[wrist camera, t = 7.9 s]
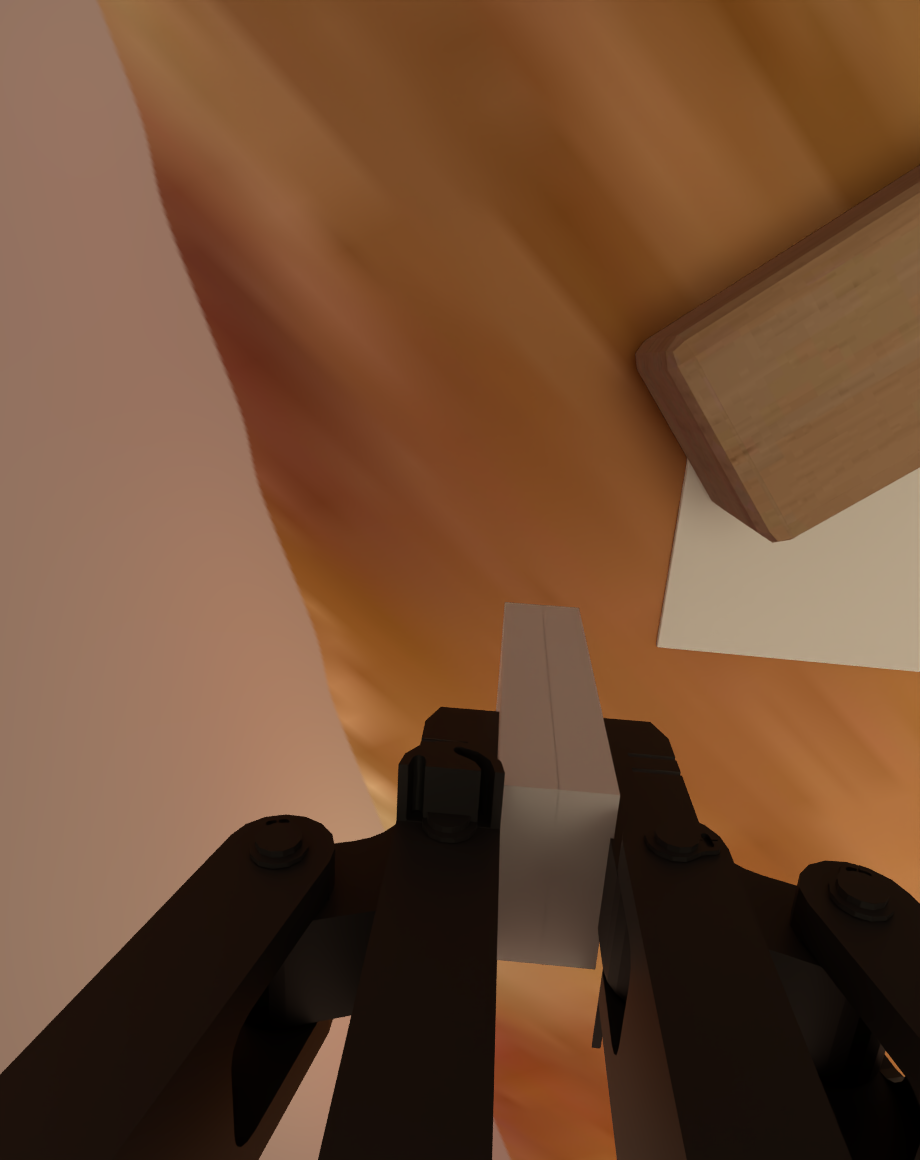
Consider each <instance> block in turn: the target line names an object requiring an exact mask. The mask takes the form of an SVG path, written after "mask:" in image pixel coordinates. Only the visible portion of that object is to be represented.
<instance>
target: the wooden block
mask: <svg viewBox="0 0 920 1160" xmlns="http://www.w3.org/2000/svg"><path fill="white" fill-rule="evenodd" d="M635 357H636V366H637V370H638V372H639V374H640V375H641V377H642V379H643V381H644V382H645V384H646V386H647V388H648V390H649V391H650V393H651V395H652V397H653V398H654V400H655V402H656V404H657V405H658V407H659V409H660V411H661V412H662V414H663V416H664V418H665V419H666V421H667V423H668V425H669V427H670V428H671V430H672V432H673V434H674V435H675V437H676V439H677V441H678V442H679V444H680V446H681V448H682V449H683V451H684V453H685V455H686V456H687V458H688V460H689V462H690V464H691V465H692V467H693V469H694V471H695V472H696V474H697V476H698V478H699V479H700V481H701V483H702V485H703V486H704V488H705V490H706V492H707V494H708V495H709V497H710V499H711V501H712V502H714V503H715V504H716V505H718V506H719V507H721V508H722V509H723V510H725V511H726V512H728V513H729V514H731V515H732V516H734V517H735V518H737V519H738V520H740V521H741V522H742V523H744V524H745V525H747V526H748V527H750V528H751V529H753V530H754V531H756V532H757V533H759V534H760V535H762V536H763V537H765V538H766V539H768V540H769V541H771V542H772V543H774V542H780V541H786V540H791V539H793V538H795V537H797V536H798V535H800V534H802V533H804V532H805V531H807V530H809V529H811V528H813V527H814V526H816V525H818V524H820V523H822V522H823V521H825V520H827V519H829V518H830V517H832V516H834V515H836V514H838V513H839V512H841V511H843V510H845V509H847V508H848V507H850V506H852V505H854V504H855V503H857V502H859V501H861V500H863V499H864V498H866V497H868V496H870V495H871V494H873V493H875V492H877V491H879V490H880V489H882V488H884V487H886V486H888V485H889V484H891V483H893V482H895V481H896V480H898V479H900V478H902V477H904V476H905V475H907V474H909V473H911V472H913V471H914V470H916V469H918V468H920V165H919V166H917V167H916V168H914V169H913V170H911V171H910V172H908V173H906V174H905V175H903V176H902V177H900V178H899V179H897V180H895V181H894V182H892V183H891V184H889V185H888V186H886V187H884V188H883V189H881V190H880V191H878V192H877V193H875V194H874V195H872V196H870V197H869V198H867V199H866V200H864V201H863V202H861V203H859V204H858V205H856V206H855V207H853V208H852V209H850V210H848V211H847V212H845V213H844V214H842V215H841V216H839V217H838V218H836V219H834V220H833V221H831V222H830V223H828V224H827V225H825V226H823V227H822V228H820V229H819V230H817V231H816V232H814V233H812V234H811V235H809V236H808V237H806V238H805V239H803V240H802V241H800V242H798V243H797V244H795V245H794V246H792V247H791V248H789V249H787V250H786V251H784V252H783V253H781V254H780V255H778V256H776V257H775V258H773V259H772V260H770V261H769V262H767V263H765V264H764V265H762V266H761V267H759V268H758V269H756V270H755V271H753V272H751V273H750V274H748V275H747V276H745V277H744V278H742V279H740V280H739V281H737V282H736V283H734V284H733V285H731V286H729V287H728V288H726V289H725V290H723V291H722V292H720V293H719V294H717V295H715V296H714V297H712V298H711V299H709V300H708V301H706V302H704V303H703V304H701V305H700V306H698V307H697V308H695V309H693V310H692V311H690V312H689V313H687V314H686V315H684V316H683V317H681V318H679V319H678V320H676V321H675V322H673V323H672V324H670V325H668V326H667V327H665V328H664V329H662V330H661V331H659V332H657V333H656V334H654V335H653V336H651V337H650V338H648V339H647V340H645V341H644V342H643V344H642V345H641V346H640V348H639V349H638V350H637V352H636V353H635Z"/></svg>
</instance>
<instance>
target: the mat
mask: <svg viewBox="0 0 920 1160" xmlns="http://www.w3.org/2000/svg"><path fill="white" fill-rule="evenodd" d="M656 645H657V647H662V648H673V649H683V650H694V651H704V652H715V653H726V654H736V655H747V656H757V657H768V658H778V659H789V660H800V661H810V662H821V663H831V664H842V665H852V666H863V667H874V668H884V669H895V670H905V671H916V672H920V468H918V469H916V470H914V471H913V472H911V473H909V474H907V475H905V476H904V477H902V478H900V479H898V480H896V481H895V482H893V483H891V484H889V485H888V486H886V487H884V488H882V489H880V490H879V491H877V492H875V493H873V494H871V495H870V496H868V497H866V498H864V499H863V500H861V501H859V502H857V503H855V504H854V505H852V506H850V507H848V508H847V509H845V510H843V511H841V512H839V513H838V514H836V515H834V516H832V517H830V518H829V519H827V520H825V521H823V522H822V523H820V524H818V525H816V526H814V527H813V528H811V529H809V530H807V531H805V532H804V533H802V534H800V535H798V536H797V537H795V538H793V539H791V540H786V541H780V542H774V543H772V542H771V541H769V540H768V539H766V538H765V537H763V536H762V535H760V534H759V533H757V532H756V531H754V530H753V529H751V528H750V527H748V526H747V525H745V524H744V523H742V522H741V521H740V520H738V519H737V518H735V517H734V516H732V515H731V514H729V513H728V512H726V511H725V510H723V509H722V508H721V507H719V506H718V505H716V504H715V503H714V502H712V501H711V499H710V497H709V495H708V494H707V492H706V490H705V488H704V486H703V485H702V483H701V481H700V479H699V478H698V476H697V474H696V472H695V471H694V469H693V467H692V465H691V464H690V462H689V460H688V458H687V463H686V469H685V475H684V481H683V487H682V493H681V499H680V505H679V511H678V517H677V523H676V529H675V535H674V541H673V547H672V553H671V559H670V565H669V571H668V577H667V583H666V589H665V595H664V601H663V607H662V613H661V619H660V625H659V631H658V637H657V643H656Z"/></svg>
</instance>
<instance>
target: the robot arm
mask: <svg viewBox="0 0 920 1160" xmlns="http://www.w3.org/2000/svg"><path fill="white" fill-rule="evenodd" d="M680 773H681V772H680V769H679V766H678V764H677V761H675V755H674V753H673V750H672V747H671V745H670V742H669V739H668V738H667V737H666V736H665V735H664V734H663V733H662V732H660V731H659V730H658V729H657V728H656V727H655V726H654V725H653V724H652V723H651V722H644V721H632V720H620V719H607V718H603V715H602V711H601V706H600V702H599V697H598V693H597V688H596V684H595V679H594V674H593V670H592V665H591V661H590V656H589V652H588V647H587V643H586V638H585V634H584V629H583V625H582V620H581V616H580V611H579V608H573V607H560V606H547V605H534V604H521V603H508V602H505V609H504V621H503V633H502V646H501V658H500V671H499V683H498V695H497V708H496V711H485V710H472V709H460V708H448V707H440V708H439V709H438V710H437V711H436V712H435V713H434V714H433V715H431V716H430V717H429V718H428V719H427V720H426V721H425V726H424V730H423V735H422V741H421V744H420V745H419V746H417V747H416V748H414V749H412V750H410V751H409V752H407V753H405V755H404V756H403V758H402V760H401V761H400V763H399V768H398V795H397V821H396V824H395V825H394V826H393V827H391V828H390V829H388V830H387V831H385V832H383V833H381V834H378V835H376V836H373V837H371V838H367V839H362V840H357V841H352V842H343V843H336V844H334V841H333V836H332V834H331V833H330V832H329V831H328V830H327V829H326V828H325V827H324V825H322V824H321V823H319V822H317V821H314V820H312V819H309V818H307V817H302V816H294V815H278V816H271V817H264V818H261V819H259V820H256V821H253V822H251V823H248V824H245V825H244V826H243V827H241V828H240V829H239V830H237V831H236V832H234V833H233V834H232V835H231V836H230V837H229V838H228V839H227V840H226V841H225V842H224V843H223V844H222V845H221V846H220V847H219V848H218V849H217V850H216V851H215V852H214V853H213V854H212V855H211V856H210V857H209V858H208V859H207V860H206V861H205V863H204V864H203V865H202V866H201V867H200V868H199V869H198V870H197V871H196V872H195V873H194V874H193V875H192V876H191V877H190V878H189V879H188V880H187V881H186V882H185V883H184V884H183V885H182V886H181V888H179V890H178V891H177V892H176V893H175V894H174V895H173V896H172V897H171V898H170V899H169V900H168V901H167V902H166V903H165V904H164V905H163V906H162V907H161V908H160V909H159V910H158V911H157V912H156V913H155V915H154V916H153V917H152V918H151V919H150V920H149V921H148V922H147V923H146V924H145V925H144V926H143V927H142V928H141V929H140V930H139V931H138V932H137V933H136V934H135V935H134V936H133V937H132V938H131V939H130V941H128V942H127V943H126V945H125V946H124V947H123V948H122V949H121V950H120V951H119V952H118V953H117V954H116V955H115V956H114V957H113V958H112V959H111V960H110V961H109V962H108V963H107V964H106V965H105V966H104V967H103V968H102V969H101V970H100V972H99V973H98V974H97V975H96V976H95V977H94V978H93V979H92V980H91V981H90V982H89V983H88V984H87V985H86V986H85V987H84V988H83V989H82V990H81V991H80V992H79V993H78V994H77V995H76V996H75V997H74V999H73V1000H72V1001H71V1002H70V1003H69V1004H68V1005H67V1006H66V1007H65V1008H64V1009H63V1010H62V1011H61V1012H60V1013H59V1014H58V1015H57V1016H56V1017H55V1018H54V1019H53V1020H52V1021H51V1022H50V1023H49V1024H48V1026H47V1027H46V1028H45V1029H44V1030H43V1031H42V1032H41V1033H40V1034H39V1035H38V1036H37V1037H36V1038H35V1039H34V1040H33V1041H32V1042H31V1043H30V1044H29V1045H28V1046H27V1047H26V1048H25V1049H24V1050H23V1052H22V1053H21V1054H20V1055H19V1056H18V1057H17V1058H16V1059H15V1060H14V1061H13V1062H12V1063H11V1064H10V1065H9V1066H8V1067H7V1068H6V1069H5V1070H4V1071H3V1072H2V1074H0V1160H259V1158H260V1156H261V1154H262V1152H263V1151H264V1148H265V1147H266V1145H267V1143H268V1141H269V1139H270V1138H271V1136H272V1134H273V1133H274V1131H275V1129H276V1127H277V1125H278V1123H279V1122H280V1120H281V1118H282V1116H283V1114H284V1113H285V1111H286V1109H287V1107H288V1105H289V1104H290V1102H291V1100H292V1098H293V1096H294V1095H295V1093H296V1091H297V1089H298V1087H299V1085H300V1084H301V1082H302V1080H303V1078H304V1076H305V1075H306V1073H307V1071H308V1069H309V1067H310V1066H311V1064H312V1062H313V1060H314V1058H315V1056H316V1055H317V1053H318V1051H319V1049H320V1047H321V1046H322V1044H323V1042H324V1040H325V1038H326V1037H327V1035H328V1033H329V1030H330V1027H331V1023H332V1020H333V1019H334V1018H339V1017H345V1016H350V1015H351V1019H350V1024H349V1028H348V1033H347V1037H346V1041H345V1046H344V1050H343V1054H342V1059H341V1063H340V1067H339V1071H338V1076H337V1080H336V1084H335V1089H334V1093H333V1097H332V1102H331V1106H330V1111H329V1114H328V1119H327V1123H326V1127H325V1132H324V1136H323V1140H322V1145H321V1149H320V1153H319V1158H318V1160H492V1139H493V1099H494V1058H495V1018H496V977H497V960H504V961H514V962H525V963H535V964H545V965H555V966H566V967H576V968H586V969H595V967H596V960H597V953H598V946H599V942H600V950H601V957H602V964H603V972H602V978H601V985H600V992H599V999H598V1006H597V1012H596V1019H595V1026H594V1033H593V1041H592V1048H600V1047H601V1041H602V1037H603V1045H604V1054H605V1062H606V1071H607V1079H608V1088H609V1096H610V1104H611V1113H612V1121H613V1130H614V1138H615V1147H616V1155H617V1160H920V903H918V902H917V901H916V900H915V899H914V898H913V897H912V896H911V895H910V894H909V893H908V892H907V891H905V890H904V889H903V888H901V887H900V886H899V885H898V884H896V883H895V882H894V881H893V880H891V879H889V878H887V877H885V876H883V875H881V874H879V873H877V872H875V871H873V870H871V869H869V868H866V867H863V866H860V865H859V866H858V865H856V864H851V863H848V862H838V861H822V862H818V863H814V864H810V865H808V866H807V867H806V868H805V869H804V870H803V871H802V872H801V873H800V875H799V880H798V884H797V886H796V885H793V884H789V883H786V882H783V881H779V880H776V879H773V878H769V877H766V876H763V875H760V874H757V873H754V872H752V871H749V870H746V869H744V868H742V867H740V866H738V865H737V864H735V863H734V862H733V859H732V857H731V854H730V852H729V849H728V848H727V846H726V845H725V843H724V842H723V841H722V839H721V838H720V836H718V835H717V834H716V833H714V832H713V831H712V830H710V829H709V828H708V827H706V826H705V825H703V824H701V823H699V821H698V818H697V816H696V813H695V810H694V807H693V805H692V802H691V799H690V797H689V794H688V791H687V788H686V786H685V783H684V780H683V777H682V776H680ZM885 1051H887V1053H888V1054H889V1055H890V1057H891V1058H892V1059H893V1061H894V1062H895V1063H896V1065H897V1066H898V1067H899V1069H900V1070H901V1071H902V1072H903V1074H904V1075H905V1077H903V1076H902V1075H901V1074H900V1073H899V1072H898V1071H897V1070H896V1069H895V1067H894V1066H893V1065H892V1063H891V1062H890V1061H889V1060H888V1058H887V1057H886V1056H885Z"/></svg>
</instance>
